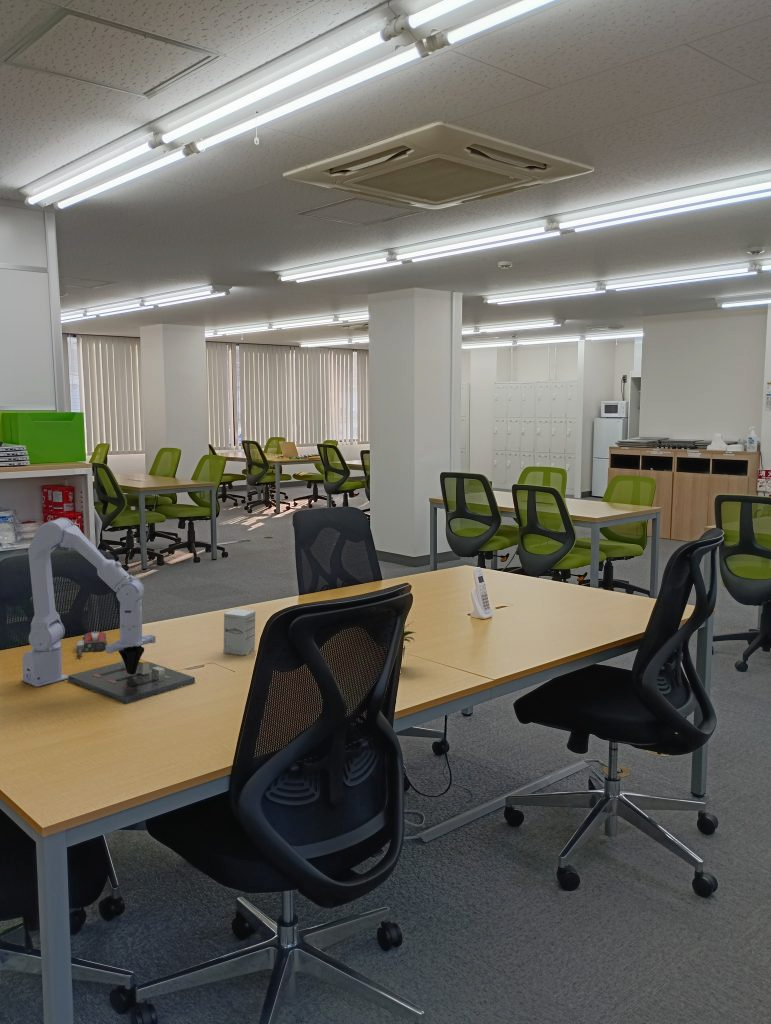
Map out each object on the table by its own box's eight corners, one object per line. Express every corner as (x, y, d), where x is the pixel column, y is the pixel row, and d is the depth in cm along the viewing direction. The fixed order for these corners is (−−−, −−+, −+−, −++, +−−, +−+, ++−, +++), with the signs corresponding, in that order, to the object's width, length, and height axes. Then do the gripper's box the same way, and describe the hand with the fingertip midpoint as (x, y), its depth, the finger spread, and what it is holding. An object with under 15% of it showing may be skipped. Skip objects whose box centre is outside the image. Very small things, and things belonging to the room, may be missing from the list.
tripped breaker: (142, 674, 227) (142, 663, 226) (136, 672, 228) (136, 660, 228) (149, 673, 228) (149, 661, 228) (142, 670, 230) (142, 659, 230)
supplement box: (222, 653, 254) (223, 613, 252) (234, 647, 261) (234, 607, 259) (244, 656, 252) (244, 615, 250) (255, 649, 259) (256, 610, 257)
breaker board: (125, 703, 209) (125, 686, 209) (68, 680, 225) (67, 664, 224) (194, 682, 226) (194, 666, 226) (137, 662, 242) (136, 647, 242)
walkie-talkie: (77, 641, 263) (75, 660, 244) (76, 628, 262) (75, 645, 243) (106, 640, 265) (107, 658, 247) (106, 626, 265) (107, 643, 246)
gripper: (116, 632, 216) (117, 683, 217) (162, 622, 227) (162, 670, 229) (100, 627, 220) (101, 677, 221) (146, 617, 231) (146, 665, 233)
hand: (131, 673), depth 225 cm, fingers closed
